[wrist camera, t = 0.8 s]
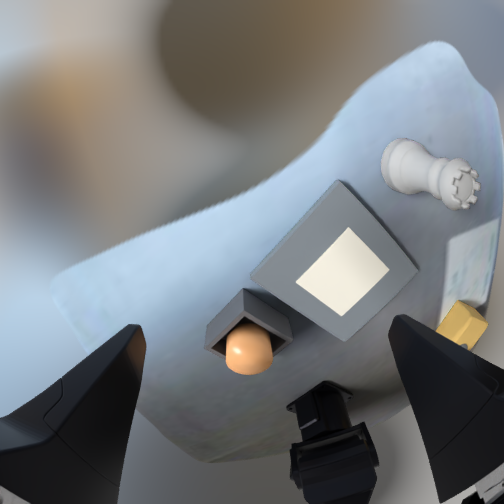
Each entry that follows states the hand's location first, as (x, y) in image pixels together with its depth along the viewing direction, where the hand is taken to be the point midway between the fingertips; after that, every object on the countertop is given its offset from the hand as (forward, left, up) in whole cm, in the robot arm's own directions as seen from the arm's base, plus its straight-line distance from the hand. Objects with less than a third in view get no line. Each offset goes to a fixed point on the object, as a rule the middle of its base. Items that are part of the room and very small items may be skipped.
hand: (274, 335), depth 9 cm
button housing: (-6, +8, -13) cm, 16 cm away
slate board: (-9, -1, -13) cm, 15 cm away
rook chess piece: (-6, -11, -13) cm, 18 cm away
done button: (-6, +8, -10) cm, 14 cm away
